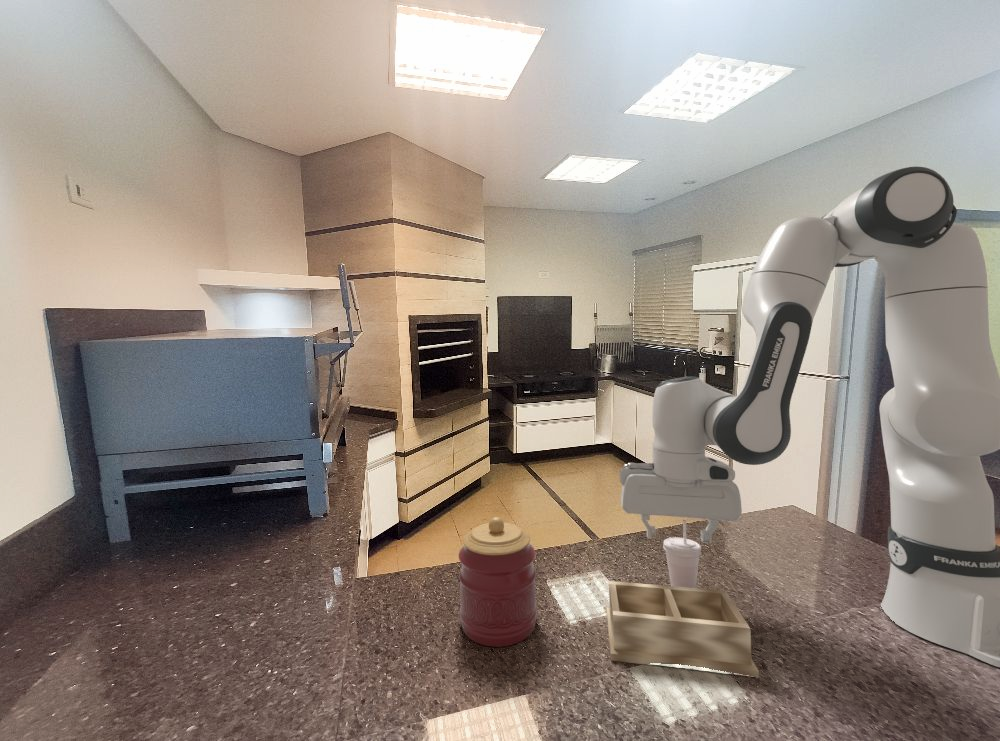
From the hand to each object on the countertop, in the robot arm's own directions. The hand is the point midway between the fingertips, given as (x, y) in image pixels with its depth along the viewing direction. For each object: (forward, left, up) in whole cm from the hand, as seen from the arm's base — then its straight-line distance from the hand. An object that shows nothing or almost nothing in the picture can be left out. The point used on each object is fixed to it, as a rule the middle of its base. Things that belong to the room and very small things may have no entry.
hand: (678, 539), depth 73 cm
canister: (+31, +13, -11) cm, 36 cm away
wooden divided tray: (+4, +13, -11) cm, 17 cm away
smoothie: (-1, 0, -11) cm, 11 cm away
